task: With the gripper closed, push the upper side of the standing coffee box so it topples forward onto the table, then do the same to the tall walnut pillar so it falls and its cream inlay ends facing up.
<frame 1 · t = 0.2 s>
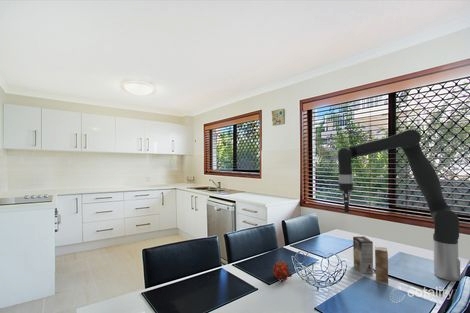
hand: (346, 210, 141), 29 cm above the table, tool pointing down, fingers open, 8 cm apart
walnut pillar: (381, 280, 117), on the table
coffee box: (363, 269, 129), on the table
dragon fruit: (281, 279, 120), on the table
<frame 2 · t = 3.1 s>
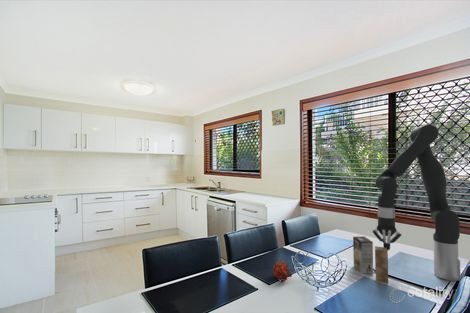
hand: (386, 250, 124), 12 cm above the table, tool pointing down, fingers closed
nothing on the table moved.
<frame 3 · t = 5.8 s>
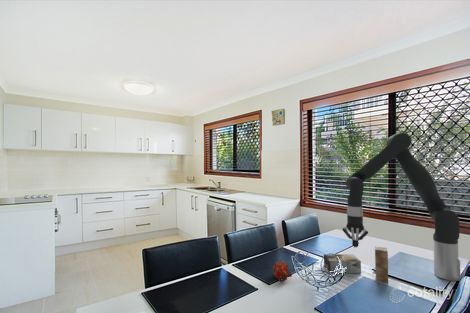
hand: (355, 246, 131), 11 cm above the table, tool pointing down, fingers closed
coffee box: (357, 263, 129), point 3 cm above the table
everything else where it was.
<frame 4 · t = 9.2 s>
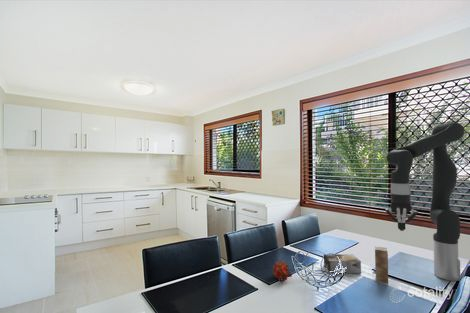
hand: (401, 230, 114), 25 cm above the table, tool pointing down, fingers closed
nothing on the table moved.
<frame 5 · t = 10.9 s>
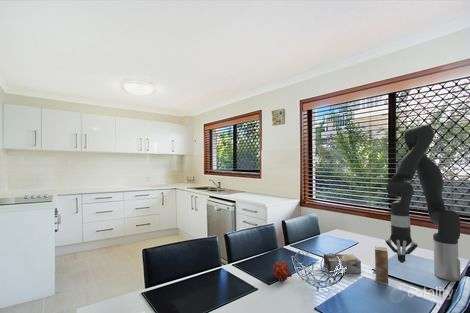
hand: (401, 262, 114), 10 cm above the table, tool pointing down, fingers closed
nothing on the table moved.
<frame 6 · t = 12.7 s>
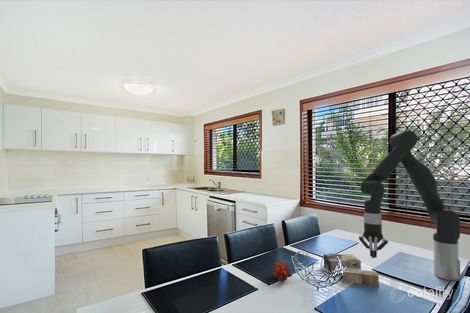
hand: (373, 257, 119), 10 cm above the table, tool pointing down, fingers closed
walnut pillar: (377, 279, 114), point 2 cm above the table, tilted 90°
everything else where it was.
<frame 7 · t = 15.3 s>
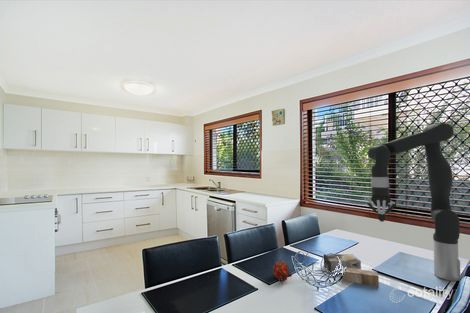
hand: (381, 221, 121), 27 cm above the table, tool pointing down, fingers closed
nothing on the table moved.
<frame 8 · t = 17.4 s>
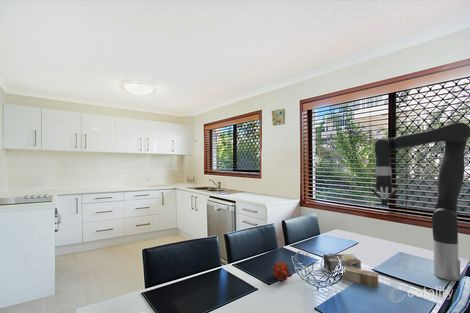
hand: (384, 205, 137), 32 cm above the table, tool pointing down, fingers closed
walnut pillar: (377, 280, 113), point 2 cm above the table, tilted 90°
everything else where it was.
at the end: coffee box tilted 90°; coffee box inside the target area (9.4 cm from its centre), point 3.2 cm above the table; walnut pillar tilted 90° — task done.
